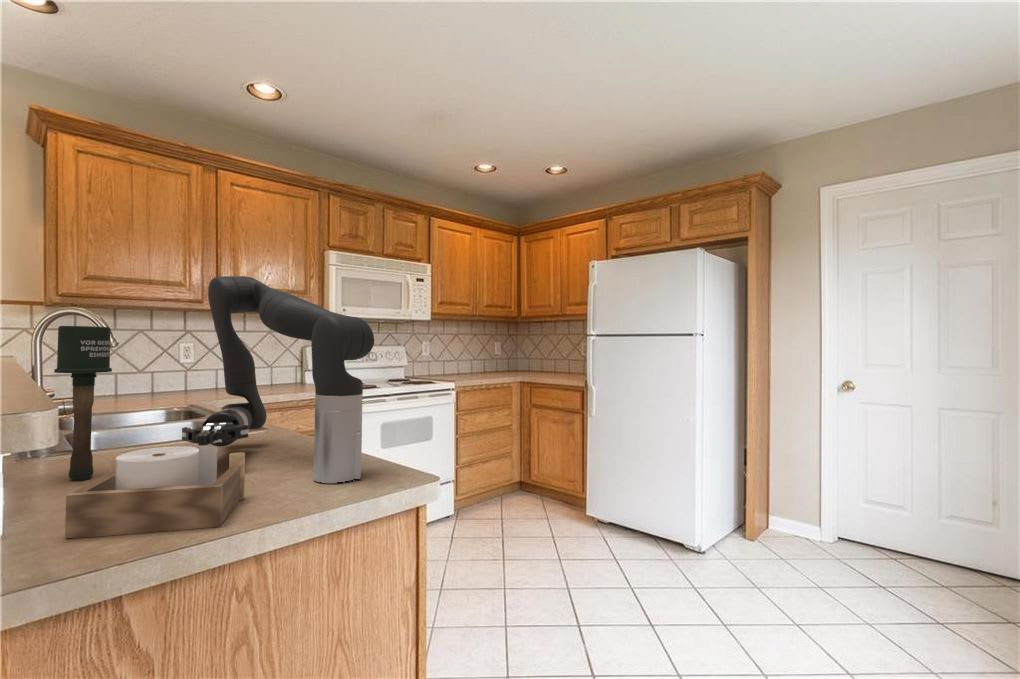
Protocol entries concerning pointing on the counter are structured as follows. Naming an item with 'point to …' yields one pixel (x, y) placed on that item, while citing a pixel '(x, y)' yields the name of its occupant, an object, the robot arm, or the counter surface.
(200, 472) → the toilet tissue
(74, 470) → the potato masher grenade
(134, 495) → the brown shallow open tray
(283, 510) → the counter surface
